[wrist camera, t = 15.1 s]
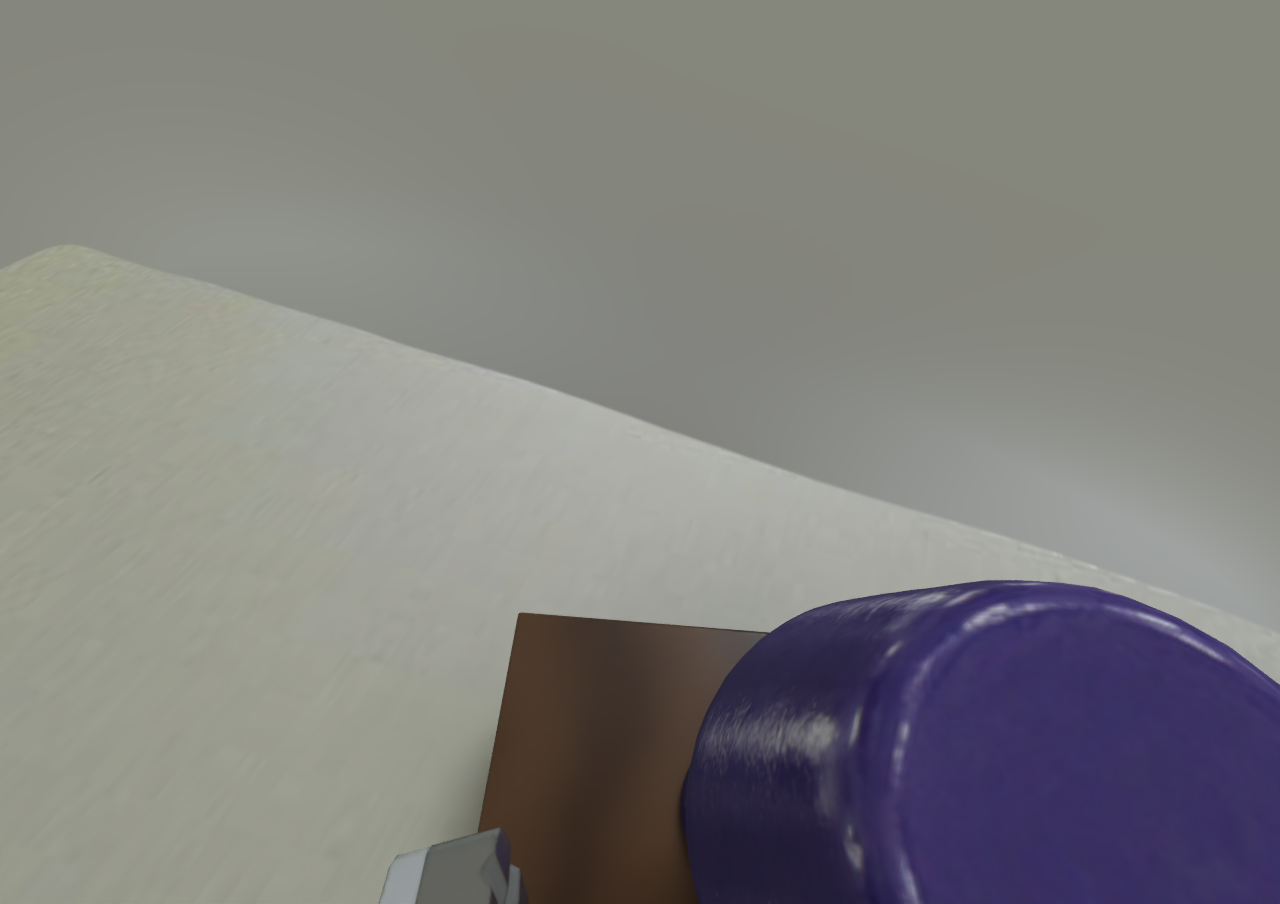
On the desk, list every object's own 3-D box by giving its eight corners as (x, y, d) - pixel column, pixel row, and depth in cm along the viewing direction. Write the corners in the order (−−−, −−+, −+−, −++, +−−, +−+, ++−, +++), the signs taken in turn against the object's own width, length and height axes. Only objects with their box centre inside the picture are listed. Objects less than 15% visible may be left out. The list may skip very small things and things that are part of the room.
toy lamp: (694, 697, 19) (736, 422, 4) (848, 726, 19) (1483, 515, 4) (669, 880, 17) (592, 1500, 2) (842, 920, 16) (2261, 2147, 2)
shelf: (540, 909, 27) (447, 992, 16) (573, 669, 31) (517, 611, 21) (897, 956, 25) (1051, 1080, 15) (876, 696, 30) (981, 649, 19)
